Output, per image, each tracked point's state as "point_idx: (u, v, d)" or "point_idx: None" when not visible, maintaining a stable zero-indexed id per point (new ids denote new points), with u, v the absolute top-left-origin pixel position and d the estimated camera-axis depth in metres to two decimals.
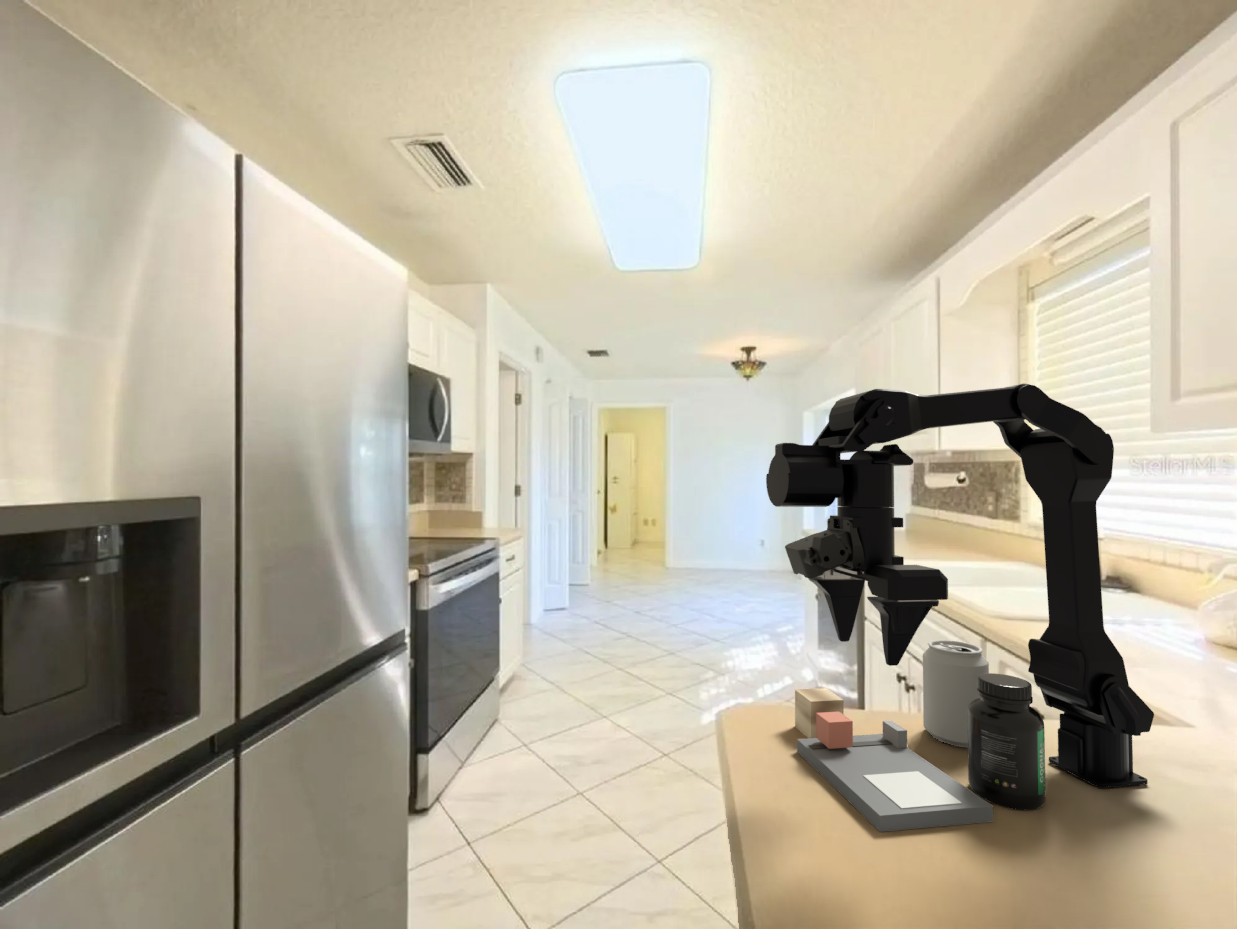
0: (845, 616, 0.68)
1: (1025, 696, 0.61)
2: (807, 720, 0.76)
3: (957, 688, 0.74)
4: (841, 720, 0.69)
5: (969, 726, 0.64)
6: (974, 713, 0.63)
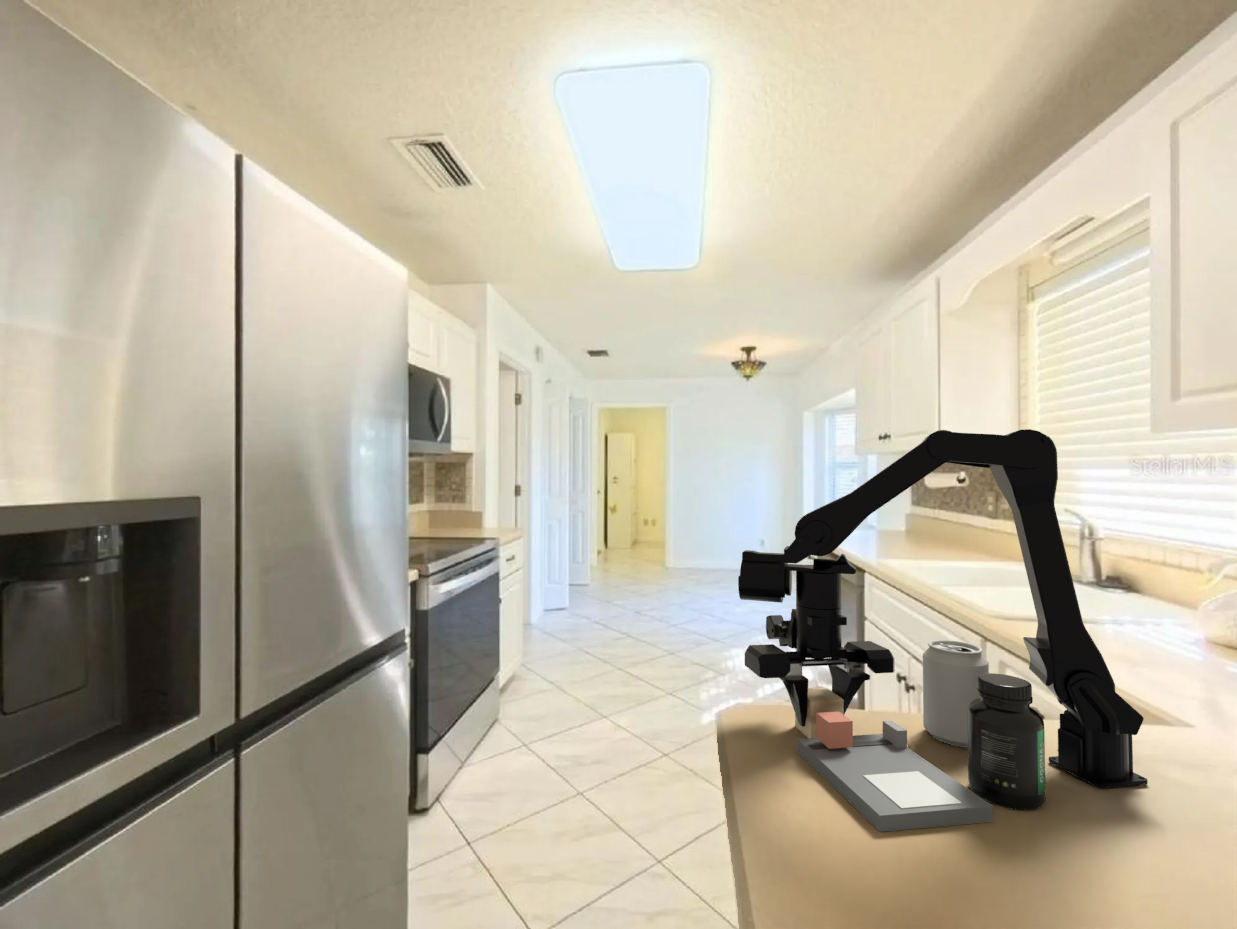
0: None
1: (1025, 696, 0.61)
2: (807, 720, 0.76)
3: (957, 688, 0.74)
4: (841, 720, 0.69)
5: (969, 726, 0.64)
6: (974, 713, 0.63)
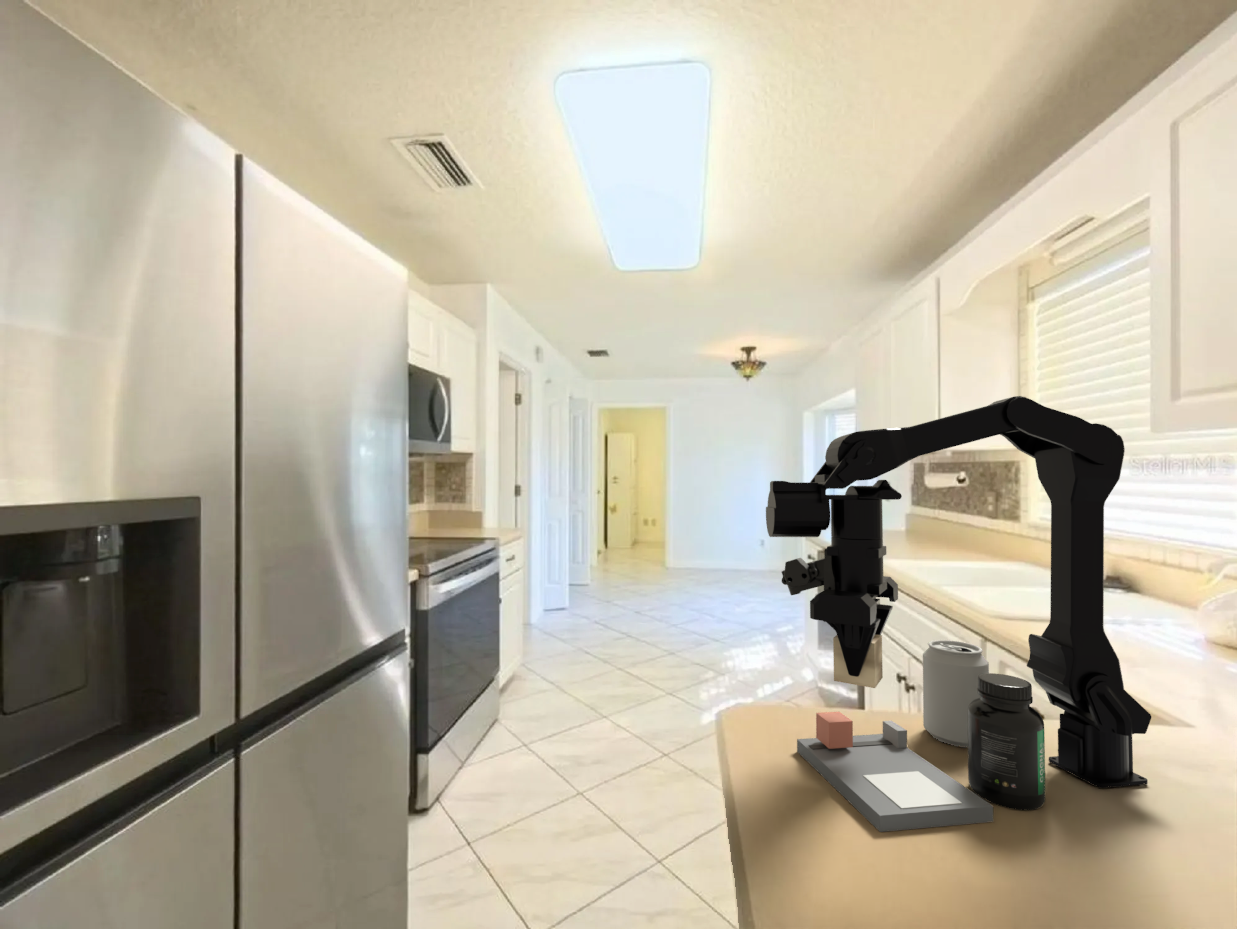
0: None
1: (1025, 696, 0.61)
2: (865, 667, 0.67)
3: (957, 688, 0.74)
4: (841, 720, 0.69)
5: (969, 726, 0.64)
6: (974, 713, 0.63)
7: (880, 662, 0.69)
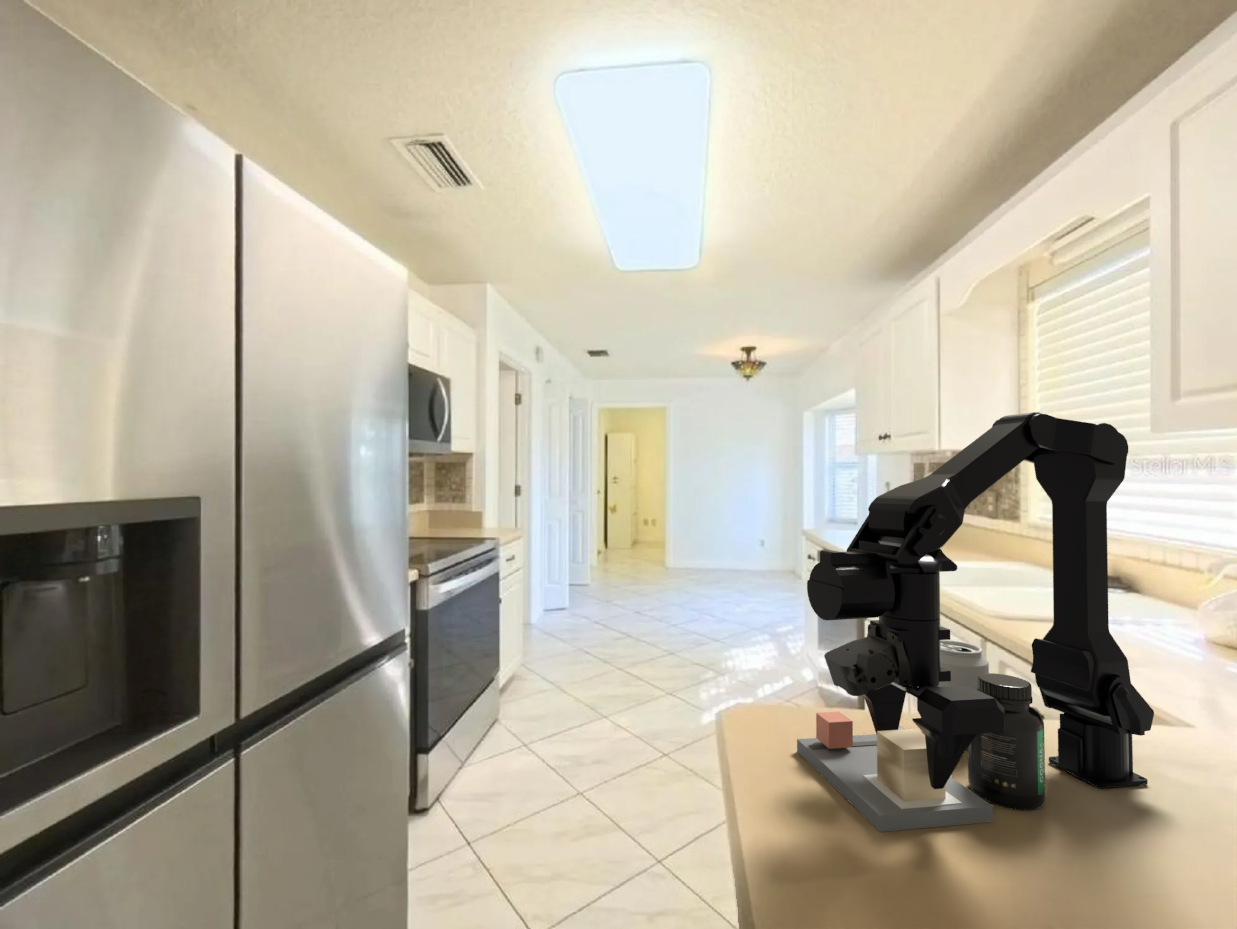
0: (888, 724, 0.64)
1: (1024, 696, 0.61)
2: None
3: None
4: (841, 720, 0.69)
5: None
6: None
7: None
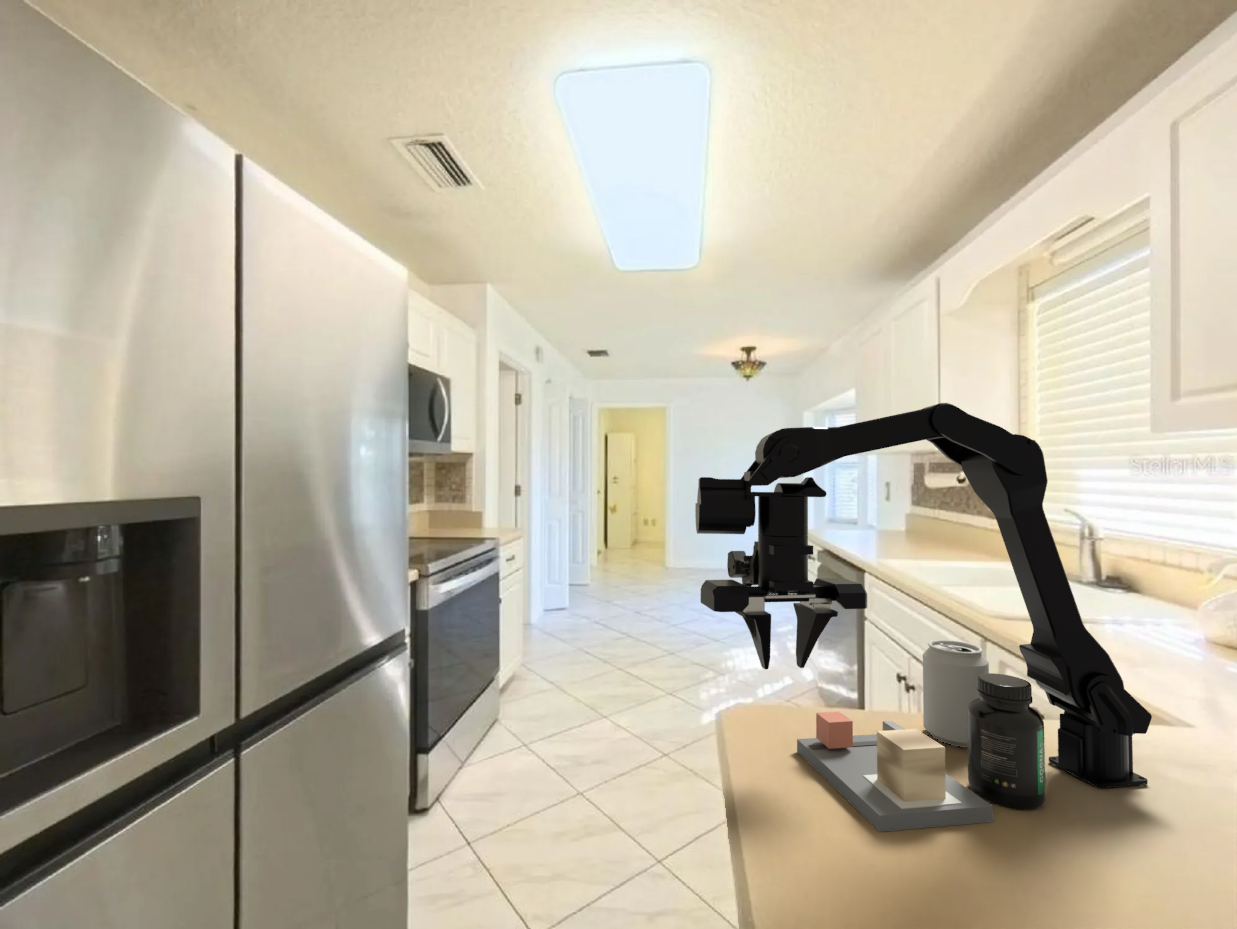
0: (800, 643, 0.70)
1: (1024, 696, 0.61)
2: (936, 776, 0.58)
3: (957, 688, 0.74)
4: (841, 720, 0.69)
5: (969, 726, 0.64)
6: (974, 713, 0.63)
7: None
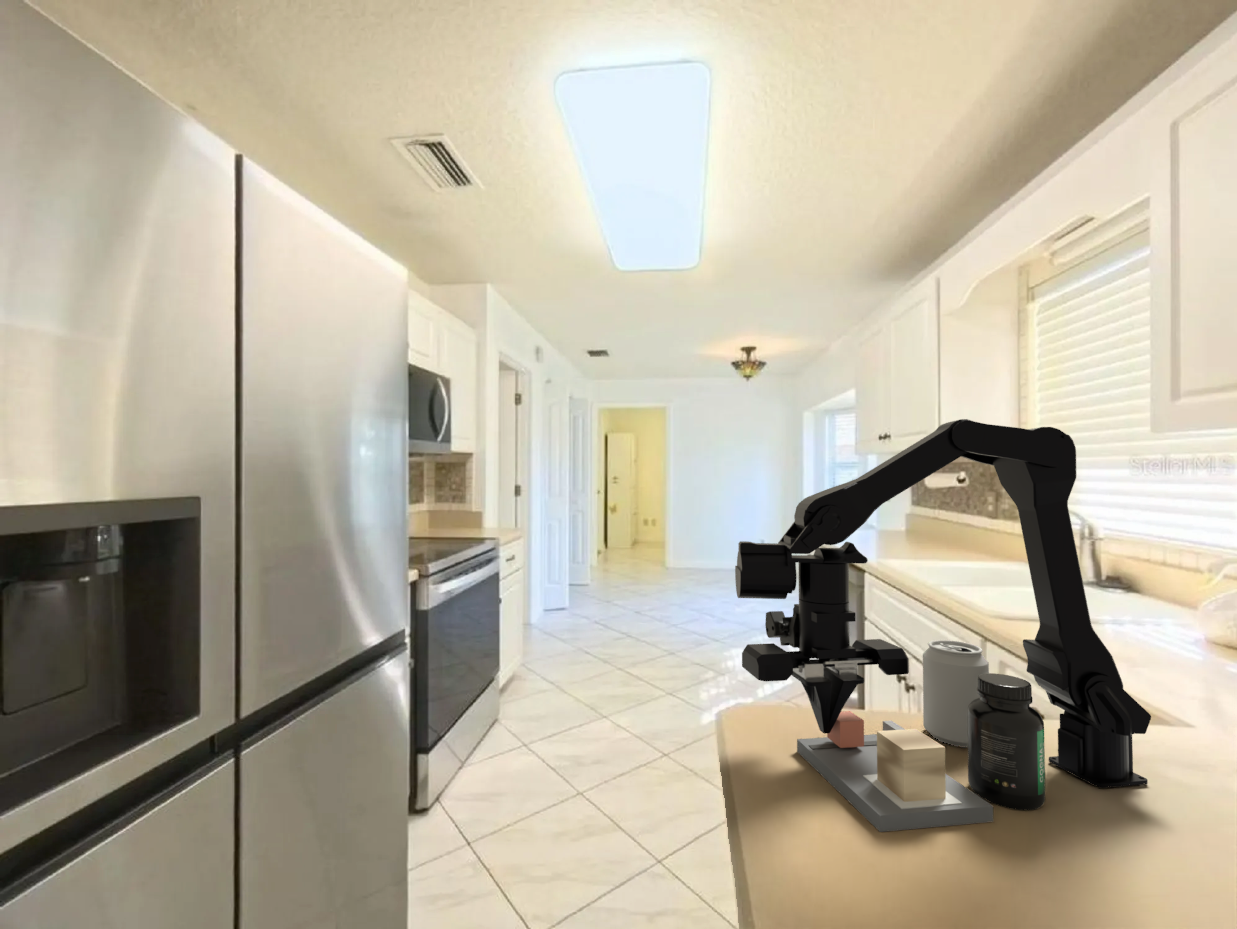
0: None
1: (1024, 696, 0.61)
2: (936, 776, 0.58)
3: (957, 688, 0.74)
4: (852, 719, 0.70)
5: (969, 726, 0.64)
6: (974, 713, 0.63)
7: None
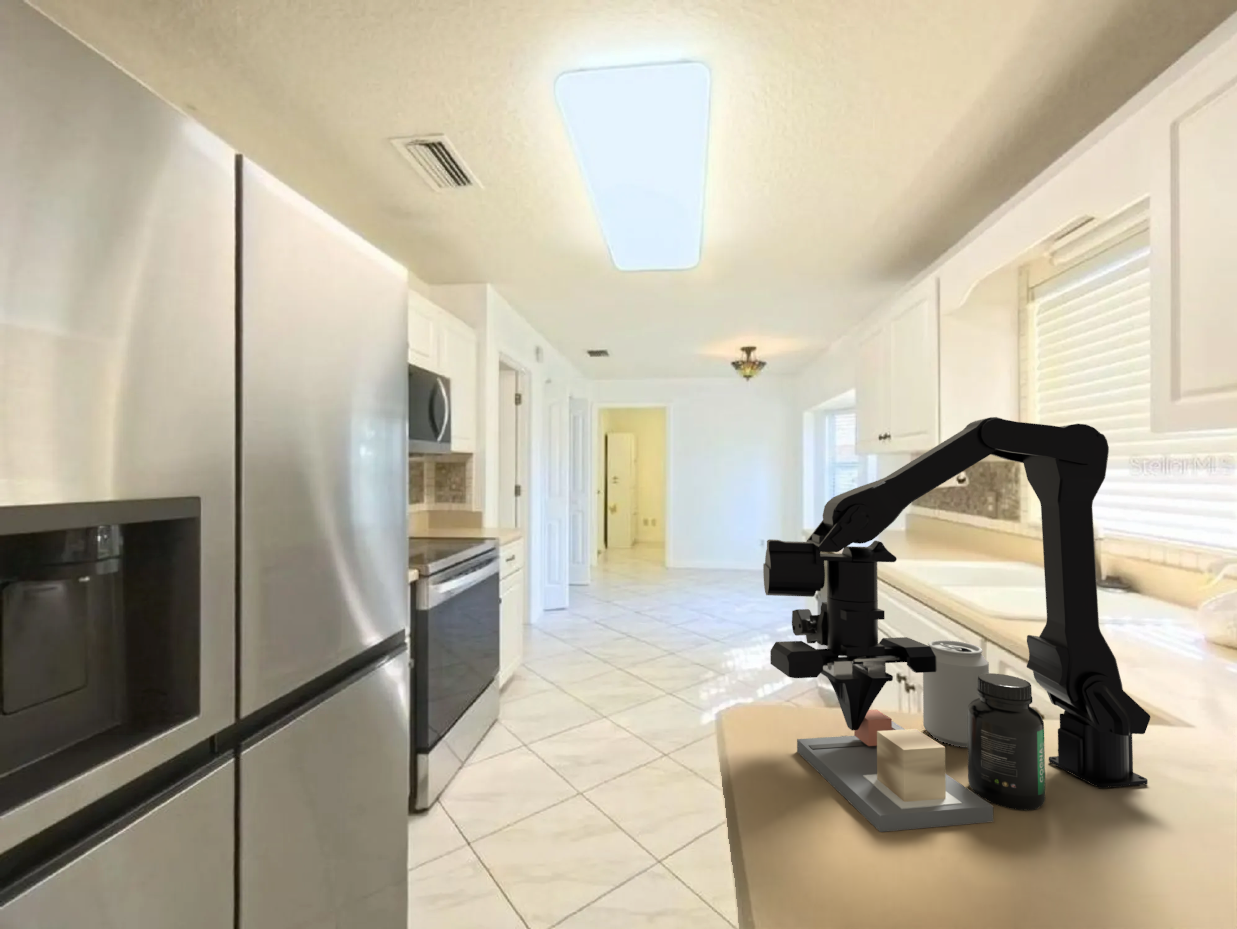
0: None
1: (1024, 696, 0.61)
2: (936, 776, 0.58)
3: (957, 688, 0.74)
4: (880, 718, 0.70)
5: (969, 726, 0.64)
6: (974, 713, 0.63)
7: None
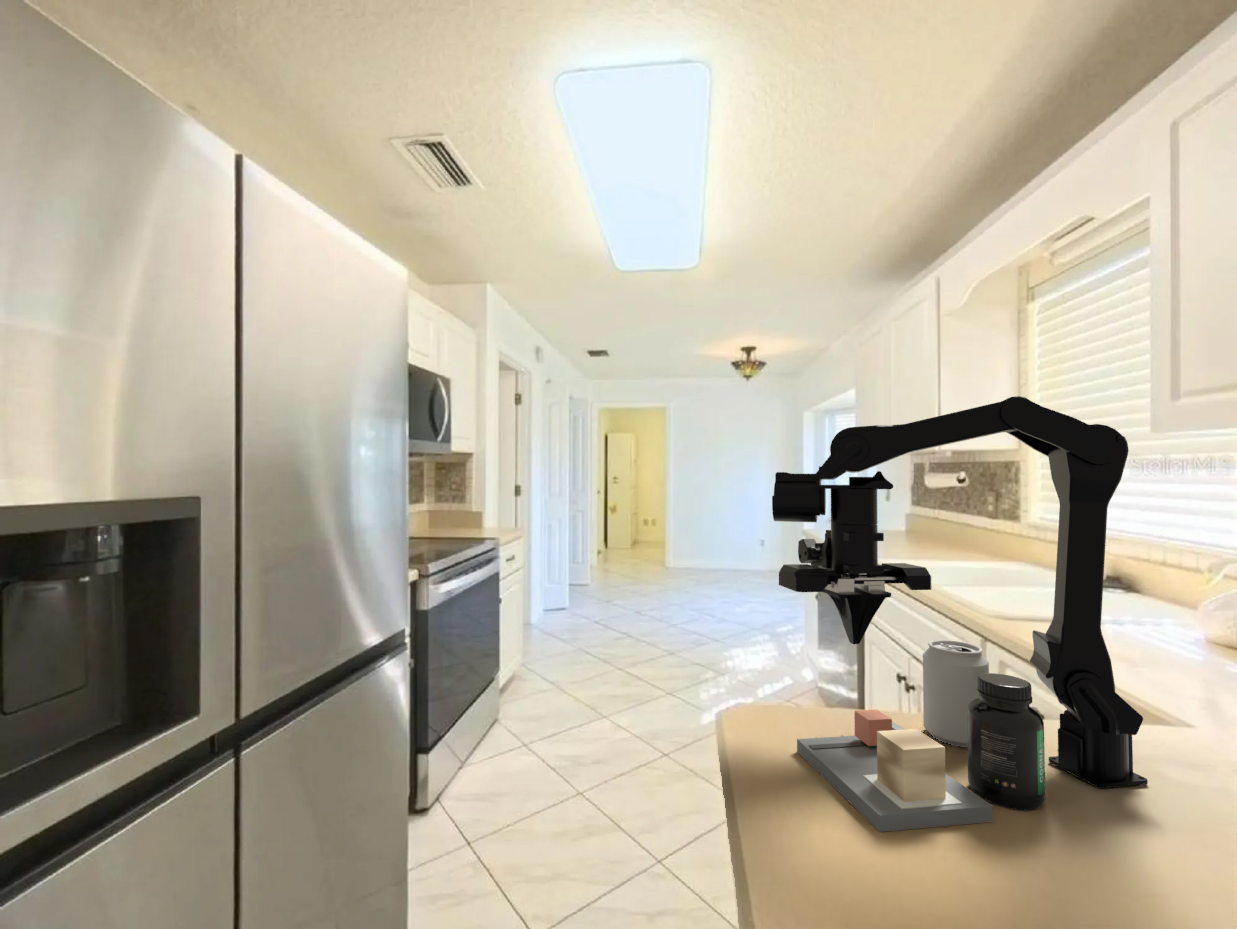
0: None
1: (1024, 696, 0.61)
2: (936, 776, 0.58)
3: (957, 688, 0.74)
4: (880, 718, 0.70)
5: (969, 726, 0.64)
6: (974, 713, 0.63)
7: None
